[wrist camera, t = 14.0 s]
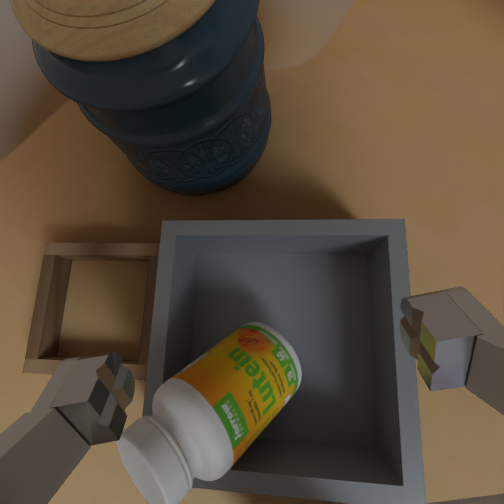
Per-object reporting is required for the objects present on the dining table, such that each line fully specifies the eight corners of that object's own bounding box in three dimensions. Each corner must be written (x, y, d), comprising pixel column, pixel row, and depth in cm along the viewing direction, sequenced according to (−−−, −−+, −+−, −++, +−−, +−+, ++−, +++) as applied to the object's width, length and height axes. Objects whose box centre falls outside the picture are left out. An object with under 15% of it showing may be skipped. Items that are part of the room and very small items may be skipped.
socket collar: (172, 249, 27) (163, 242, 25) (161, 375, 24) (150, 380, 22) (63, 248, 28) (46, 242, 26) (42, 368, 26) (22, 372, 24)
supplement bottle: (320, 375, 19) (194, 531, 12) (276, 402, 22) (160, 533, 15) (260, 304, 20) (116, 407, 13) (228, 341, 24) (101, 437, 17)
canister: (105, 142, 30) (-146, -104, 13) (200, 48, 31) (87, -295, 14) (200, 229, 27) (38, 59, 10) (303, 121, 28) (321, -204, 11)
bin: (377, 243, 25) (404, 219, 19) (389, 460, 21) (426, 511, 15) (190, 243, 26) (162, 220, 21) (174, 442, 23) (135, 481, 17)
